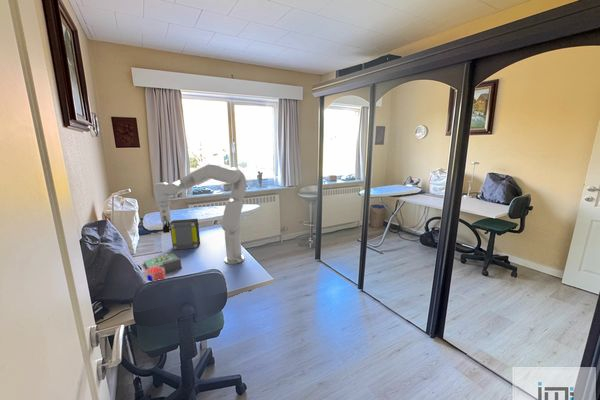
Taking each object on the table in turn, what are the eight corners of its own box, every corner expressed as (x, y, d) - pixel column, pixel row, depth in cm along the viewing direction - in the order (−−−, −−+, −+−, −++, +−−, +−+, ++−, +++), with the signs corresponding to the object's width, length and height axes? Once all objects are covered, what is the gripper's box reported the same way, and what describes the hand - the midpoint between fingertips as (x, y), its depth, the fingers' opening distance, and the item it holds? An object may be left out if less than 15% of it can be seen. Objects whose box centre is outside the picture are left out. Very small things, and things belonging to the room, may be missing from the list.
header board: (180, 261, 171) (179, 255, 170) (149, 271, 159) (148, 263, 158) (173, 255, 181) (172, 248, 180) (144, 263, 169) (142, 256, 168)
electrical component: (172, 250, 189) (168, 224, 184) (175, 245, 198) (172, 220, 194) (198, 248, 192) (195, 222, 188) (200, 243, 202) (197, 218, 197)
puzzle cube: (166, 280, 148) (164, 267, 146) (153, 287, 141) (151, 274, 139) (156, 277, 151) (154, 265, 149) (143, 284, 144) (141, 271, 142)
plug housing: (181, 268, 162) (180, 259, 161) (165, 273, 156) (164, 263, 155) (179, 266, 164) (178, 257, 163) (163, 271, 158) (162, 262, 157)
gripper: (170, 205, 152) (173, 233, 156) (170, 199, 168) (173, 225, 171) (155, 206, 149) (159, 235, 153) (157, 200, 165) (160, 226, 168)
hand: (166, 230), depth 162 cm, fingers open, 9 cm apart
